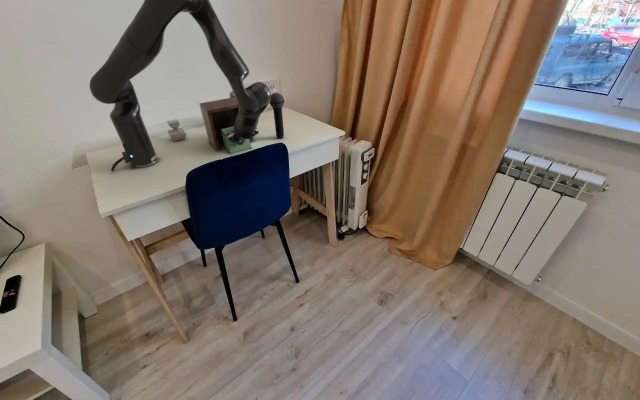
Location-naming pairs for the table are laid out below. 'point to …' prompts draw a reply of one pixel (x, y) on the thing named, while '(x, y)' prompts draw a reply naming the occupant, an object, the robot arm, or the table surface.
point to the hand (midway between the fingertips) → (239, 142)
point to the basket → (233, 146)
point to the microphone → (278, 113)
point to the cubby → (219, 118)
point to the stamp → (176, 130)
